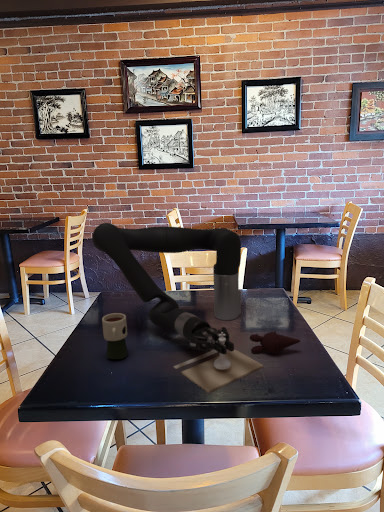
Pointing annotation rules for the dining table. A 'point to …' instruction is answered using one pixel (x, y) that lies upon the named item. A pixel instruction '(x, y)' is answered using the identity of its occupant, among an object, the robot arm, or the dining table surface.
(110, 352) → the character mug
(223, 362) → the chess piece
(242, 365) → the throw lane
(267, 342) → the dark brown lumpy figurine
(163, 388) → the dining table surface
